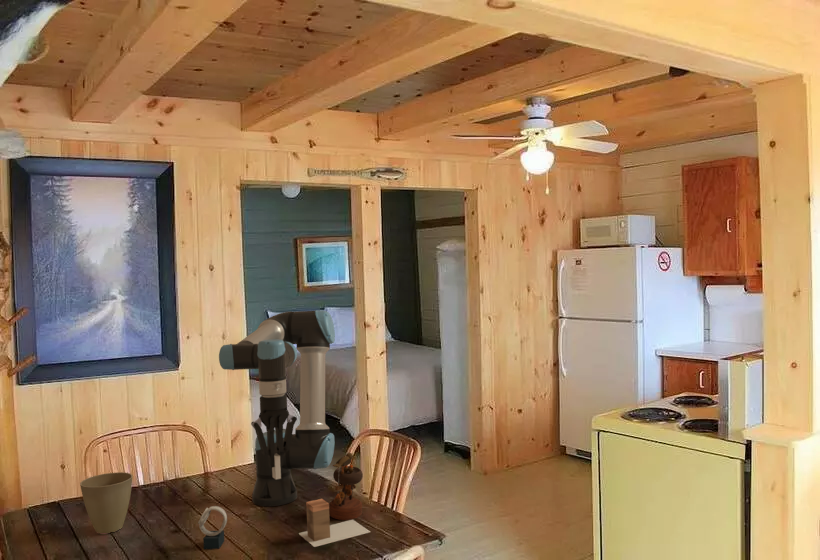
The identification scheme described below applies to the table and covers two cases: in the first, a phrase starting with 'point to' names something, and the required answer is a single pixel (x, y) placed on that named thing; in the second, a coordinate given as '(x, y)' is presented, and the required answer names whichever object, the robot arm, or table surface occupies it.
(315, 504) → the walnut block
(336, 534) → the mat
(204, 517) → the watch
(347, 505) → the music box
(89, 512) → the plant pot
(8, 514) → the table surface
